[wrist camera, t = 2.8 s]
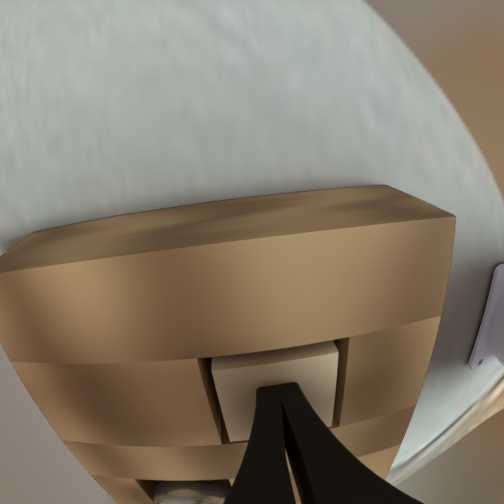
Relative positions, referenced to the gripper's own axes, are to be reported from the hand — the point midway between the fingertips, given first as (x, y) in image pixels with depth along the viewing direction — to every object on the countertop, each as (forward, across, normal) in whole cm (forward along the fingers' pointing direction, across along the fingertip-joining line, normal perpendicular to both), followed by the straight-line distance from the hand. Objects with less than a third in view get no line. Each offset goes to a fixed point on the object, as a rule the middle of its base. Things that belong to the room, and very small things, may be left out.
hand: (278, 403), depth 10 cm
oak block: (+5, +2, +5) cm, 7 cm away
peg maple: (+5, 0, 0) cm, 5 cm away
